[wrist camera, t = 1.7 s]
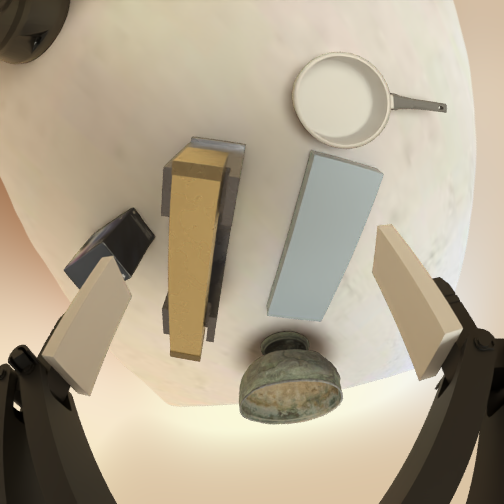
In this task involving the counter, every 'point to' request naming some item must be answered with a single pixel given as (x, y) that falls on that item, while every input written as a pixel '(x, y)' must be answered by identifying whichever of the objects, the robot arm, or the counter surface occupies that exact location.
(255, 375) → the bowl
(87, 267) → the small box
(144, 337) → the counter surface
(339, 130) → the saucepan
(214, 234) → the rail
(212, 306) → the grey metal bracket
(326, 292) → the board
